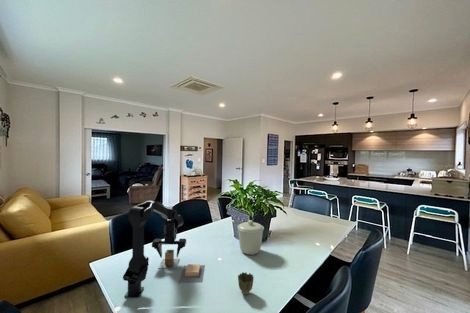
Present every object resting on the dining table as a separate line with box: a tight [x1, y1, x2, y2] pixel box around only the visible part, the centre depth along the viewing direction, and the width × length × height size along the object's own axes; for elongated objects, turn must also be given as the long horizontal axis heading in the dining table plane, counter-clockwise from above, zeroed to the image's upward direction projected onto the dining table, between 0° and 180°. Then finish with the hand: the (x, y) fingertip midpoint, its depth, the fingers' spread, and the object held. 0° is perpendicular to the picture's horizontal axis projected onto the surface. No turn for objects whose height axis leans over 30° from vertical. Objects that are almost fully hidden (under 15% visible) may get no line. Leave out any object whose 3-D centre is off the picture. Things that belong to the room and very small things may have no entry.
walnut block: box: [164, 249, 175, 265], centre depth 122 cm, size 4×4×7 cm
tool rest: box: [157, 258, 180, 270], centre depth 122 cm, size 10×10×1 cm
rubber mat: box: [178, 264, 206, 284], centre depth 113 cm, size 16×12×1 cm
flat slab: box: [185, 263, 201, 277], centre depth 114 cm, size 2×7×8 cm
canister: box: [237, 219, 265, 256], centre depth 141 cm, size 18×18×21 cm
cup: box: [237, 271, 255, 296], centre depth 98 cm, size 8×7×8 cm
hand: (169, 257), depth 121 cm, fingers open, 9 cm apart
